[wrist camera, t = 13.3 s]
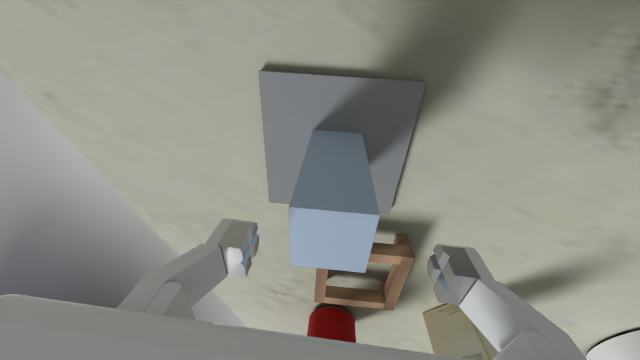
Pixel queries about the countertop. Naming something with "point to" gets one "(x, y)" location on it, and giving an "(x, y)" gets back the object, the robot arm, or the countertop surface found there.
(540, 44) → the countertop surface
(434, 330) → the skincare box
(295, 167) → the mat
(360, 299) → the wooden square frame
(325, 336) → the beverage can
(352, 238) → the peg
